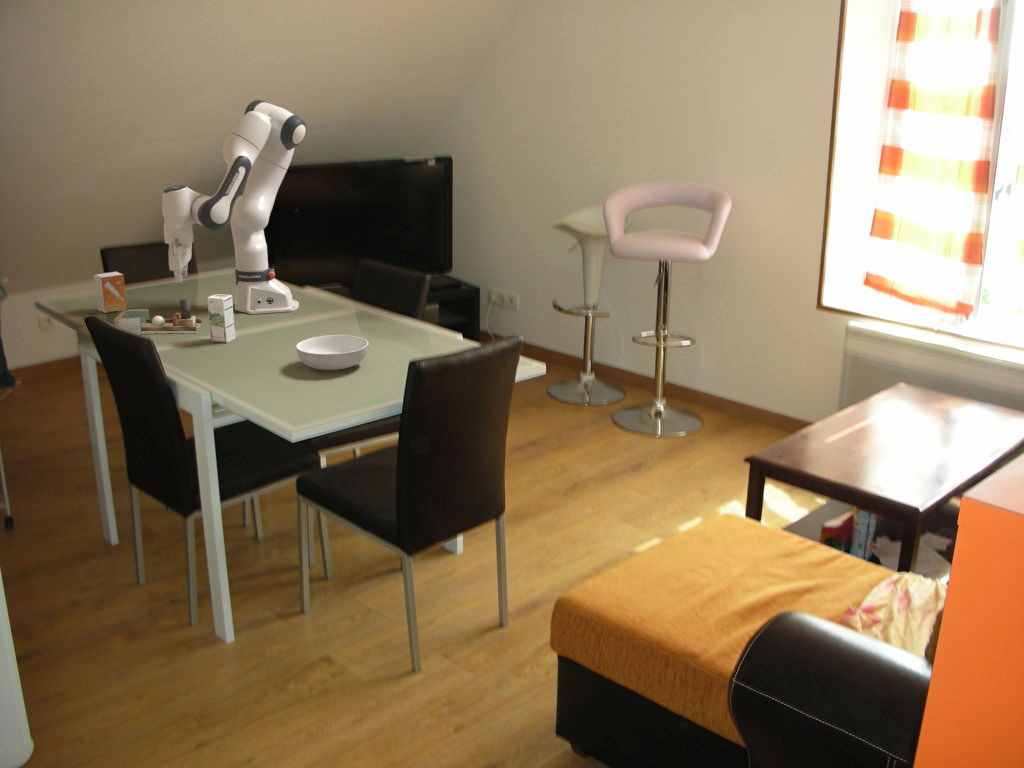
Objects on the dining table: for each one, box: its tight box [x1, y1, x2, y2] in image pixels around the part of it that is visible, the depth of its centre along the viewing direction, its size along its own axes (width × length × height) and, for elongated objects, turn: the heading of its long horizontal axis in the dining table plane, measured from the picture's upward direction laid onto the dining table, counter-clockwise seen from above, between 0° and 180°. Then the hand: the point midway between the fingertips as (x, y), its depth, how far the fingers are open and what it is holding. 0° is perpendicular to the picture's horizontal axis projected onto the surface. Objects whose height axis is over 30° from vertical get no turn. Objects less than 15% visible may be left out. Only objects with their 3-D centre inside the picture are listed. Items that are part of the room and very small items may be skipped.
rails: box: [142, 317, 203, 332], centre depth 345 cm, size 18×11×2 cm, turn 97°
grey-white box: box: [113, 308, 150, 332], centre depth 343 cm, size 8×13×5 cm, turn 7°
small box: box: [93, 271, 128, 311], centre depth 365 cm, size 8×6×13 cm
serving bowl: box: [295, 334, 370, 371], centre depth 306 cm, size 21×21×7 cm
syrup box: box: [206, 293, 236, 344], centre depth 330 cm, size 6×6×14 cm
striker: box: [171, 298, 197, 326], centre depth 344 cm, size 6×8×9 cm
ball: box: [151, 315, 165, 327], centre depth 344 cm, size 4×4×4 cm
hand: (181, 279), depth 341 cm, fingers open, 8 cm apart
